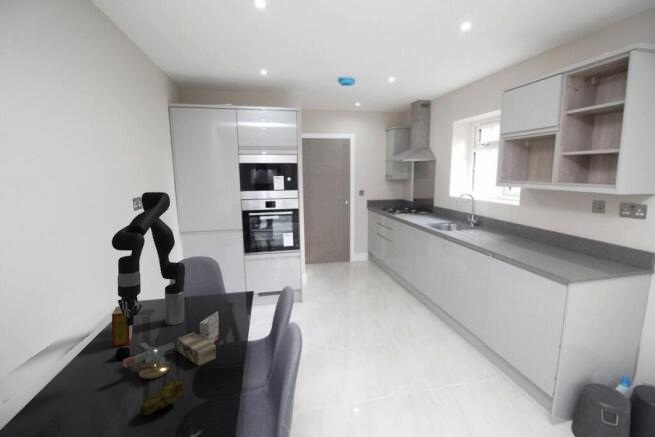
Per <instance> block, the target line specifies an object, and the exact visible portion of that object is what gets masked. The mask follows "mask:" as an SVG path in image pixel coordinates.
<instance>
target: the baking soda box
mask: <svg viewBox="0 0 655 437" xmlns="http://www.w3.org/2000/svg"><path fill="white" fill-rule="evenodd" d="M133 335H134V334H133V325H131V326H127V325H126V317H125V315H124V314H122V311H121V309H120V306H119V305H118V306H115V307H114V309H113V312H112V313H111V338H112V340H111V341H112V342H111V343H112V347H111V348H115V347H116V348H117V347H123V346H128V345H130V344H131V341H132V338H133Z"/></svg>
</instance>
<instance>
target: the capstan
mask: <svg viewBox="0 0 655 437" xmlns="http://www.w3.org/2000/svg"><path fill="white" fill-rule="evenodd" d="M175 348H176V343H175V342H174V341H171V342H168V343H166V344H163V345H160V346H158V347H157V346H150V345H149V344H148V343H146V342H141V343H139V349H140V351H142V353H141V352H140V353H138V354H135V355H136V356H133V357H132V356H131V357H128V358H126V359H123V362H122V364H123V367H125V368H128V367H131V366H134V365H135V364H137V363H139V362H143V361H145V364H143V365H142V366H140V368H139V369H138V377H139V376H140V377H141V378H140V377H139V378H140V379H142V378H143V379H142V380H146V379H150V380H154V379H158V378H161V377H163V376H165V375H167V374H168V372H170V369H171V363H170V361H168V360H166V357H164V356H163V355H162V353H165V352H168V351H170V350H173V349H175Z"/></svg>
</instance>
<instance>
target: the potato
mask: <svg viewBox="0 0 655 437" xmlns="http://www.w3.org/2000/svg"><path fill="white" fill-rule="evenodd" d="M184 384H185V383H184V382H183V381H180V380H171V381H169V382H168V383H166V384H165V385H163V386H162V387H161V388H160V389H158V391H157V392H156V393H154V394H153V395H152V396H150V397H149V398H148V399H146V400H145V401H144V402H143V403H142V404H141V406H140V414H141V415H143V416H150V415H152V414H153V413H154V412H158V411H160V410H162V409H164V408H166V407H167V406H169V405H170V404H172V403H173V402H174V401H176V400H177V399H180V398H182V397H183V393H184V390H185V386H184Z"/></svg>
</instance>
